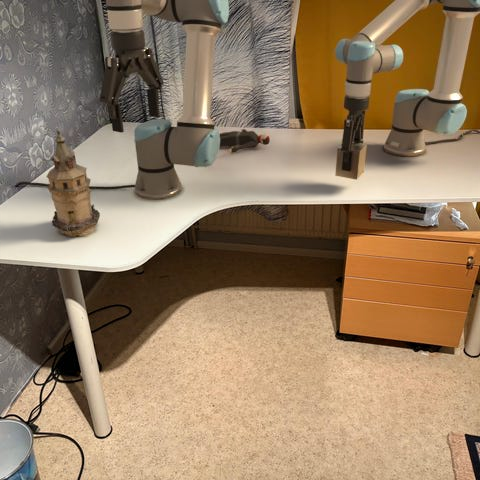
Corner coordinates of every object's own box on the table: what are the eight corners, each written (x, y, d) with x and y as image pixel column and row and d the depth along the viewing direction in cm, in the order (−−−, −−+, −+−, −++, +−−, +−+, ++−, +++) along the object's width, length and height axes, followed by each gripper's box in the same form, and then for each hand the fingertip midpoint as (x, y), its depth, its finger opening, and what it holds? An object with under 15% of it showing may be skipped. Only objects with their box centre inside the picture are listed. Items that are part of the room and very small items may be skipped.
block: (363, 172, 177) (367, 144, 172) (356, 179, 171) (360, 151, 167) (342, 168, 180) (345, 141, 175) (335, 175, 174) (337, 147, 170)
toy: (204, 122, 226) (274, 122, 220) (205, 136, 229) (274, 137, 223) (186, 142, 204) (264, 143, 198) (188, 157, 207) (264, 159, 201)
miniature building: (80, 214, 164) (63, 117, 149) (111, 225, 157) (96, 125, 142) (44, 231, 154) (22, 130, 140) (75, 244, 147) (55, 139, 133)
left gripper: (148, 21, 130) (156, 108, 140) (73, 37, 111) (88, 135, 121) (173, 23, 126) (179, 112, 137) (100, 39, 108) (114, 141, 118)
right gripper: (355, 87, 172) (349, 154, 184) (333, 102, 157) (328, 174, 168) (378, 89, 169) (370, 158, 180) (358, 105, 154) (351, 179, 165)
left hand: (137, 123), depth 129 cm, fingers open, 13 cm apart
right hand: (350, 166), depth 174 cm, fingers closed on block, 7 cm apart
